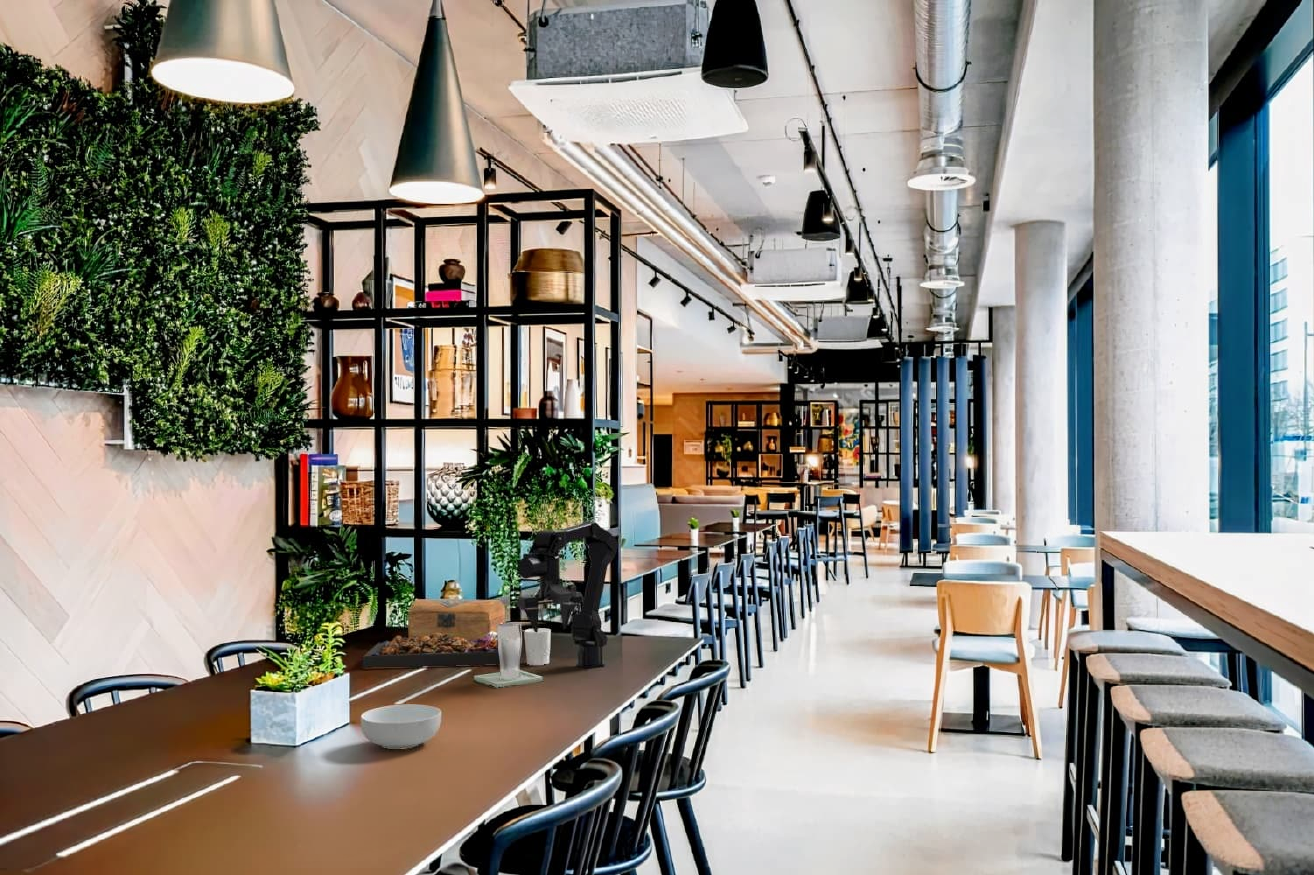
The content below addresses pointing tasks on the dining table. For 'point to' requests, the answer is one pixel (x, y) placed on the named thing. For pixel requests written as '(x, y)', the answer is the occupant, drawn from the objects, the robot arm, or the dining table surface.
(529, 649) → the white cup
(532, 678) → the tray
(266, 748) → the dining table surface
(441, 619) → the wooden box
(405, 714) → the cereal bowl
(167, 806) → the dining table surface
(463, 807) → the dining table surface
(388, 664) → the food platter
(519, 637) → the beer glass
